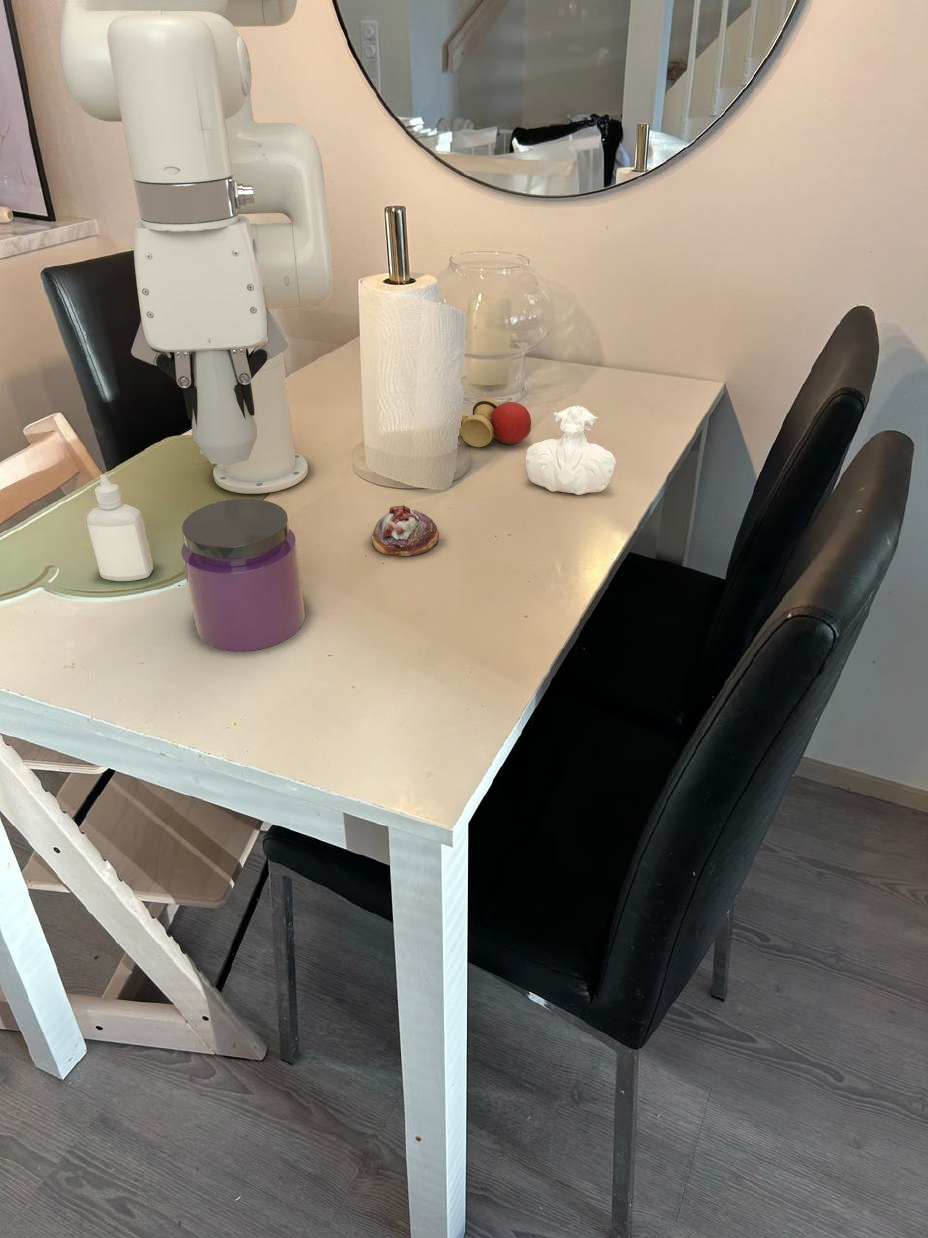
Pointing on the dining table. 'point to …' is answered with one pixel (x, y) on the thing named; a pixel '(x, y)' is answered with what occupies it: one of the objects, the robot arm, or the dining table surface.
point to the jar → (242, 574)
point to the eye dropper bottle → (118, 536)
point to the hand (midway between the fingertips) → (223, 422)
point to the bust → (570, 457)
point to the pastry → (404, 532)
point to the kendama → (495, 423)
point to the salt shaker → (220, 410)
